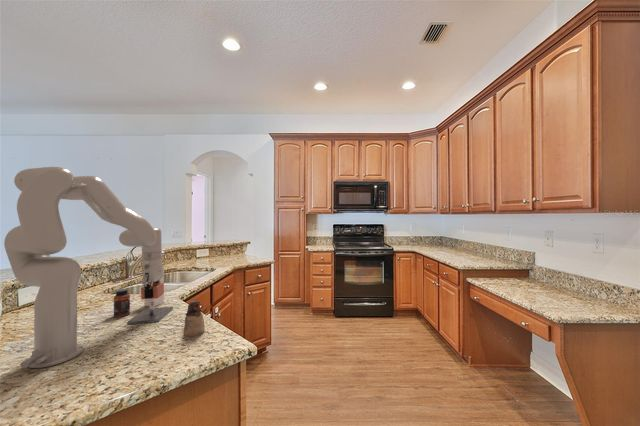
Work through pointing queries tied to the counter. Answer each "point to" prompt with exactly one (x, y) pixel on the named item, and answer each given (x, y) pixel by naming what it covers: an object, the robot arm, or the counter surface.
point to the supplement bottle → (121, 303)
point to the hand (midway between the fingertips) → (152, 295)
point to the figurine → (194, 320)
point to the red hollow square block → (154, 291)
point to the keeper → (150, 314)
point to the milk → (156, 300)
